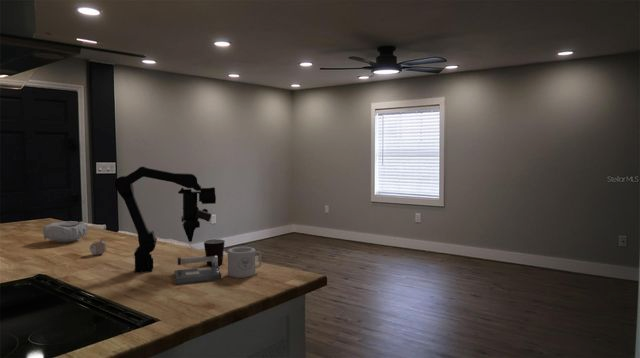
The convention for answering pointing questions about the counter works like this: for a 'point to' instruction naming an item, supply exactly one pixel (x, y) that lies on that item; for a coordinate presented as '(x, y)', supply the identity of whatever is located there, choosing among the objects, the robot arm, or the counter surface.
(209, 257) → the cable arm
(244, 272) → the mug
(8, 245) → the counter surface
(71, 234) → the bowl
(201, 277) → the chassis
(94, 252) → the garlic bulb
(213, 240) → the coffee mug
